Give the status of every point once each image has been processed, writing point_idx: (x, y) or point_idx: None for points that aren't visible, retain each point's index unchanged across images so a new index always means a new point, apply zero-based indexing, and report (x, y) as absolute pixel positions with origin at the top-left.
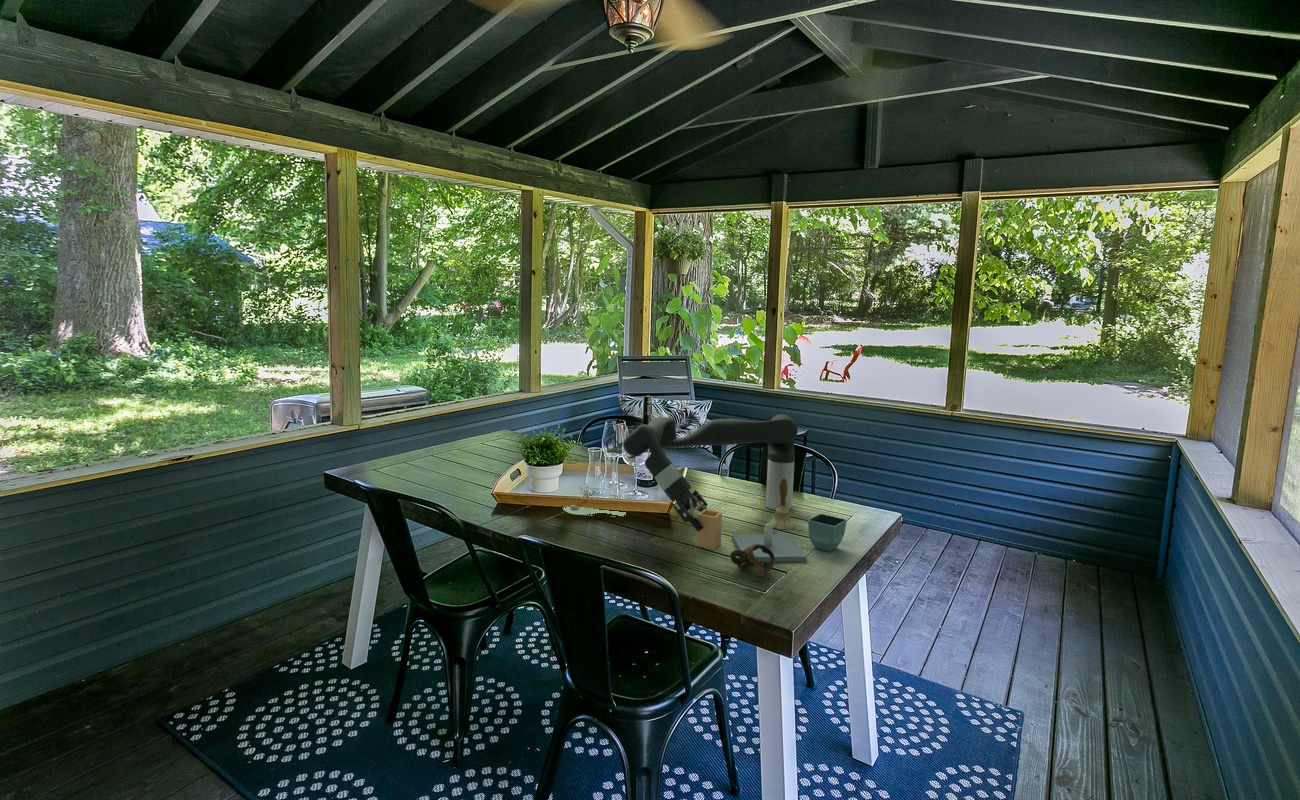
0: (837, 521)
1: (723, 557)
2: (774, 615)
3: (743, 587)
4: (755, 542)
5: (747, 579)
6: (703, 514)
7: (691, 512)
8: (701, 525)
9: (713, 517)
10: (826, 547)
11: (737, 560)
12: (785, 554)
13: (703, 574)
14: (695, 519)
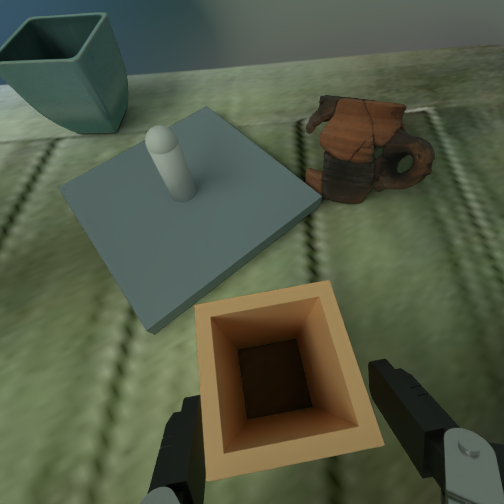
0: (28, 44)
1: (336, 268)
2: (491, 68)
3: (453, 143)
4: (184, 225)
5: (407, 155)
6: (280, 438)
7: (500, 494)
8: (389, 367)
9: (334, 295)
10: (125, 100)
11: (396, 174)
12: (224, 137)
13: (500, 247)
14: (436, 422)
